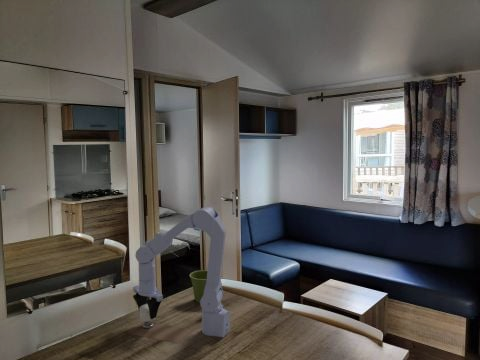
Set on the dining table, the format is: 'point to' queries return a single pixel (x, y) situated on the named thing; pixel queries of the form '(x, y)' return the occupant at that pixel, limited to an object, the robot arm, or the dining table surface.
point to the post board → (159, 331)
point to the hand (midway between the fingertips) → (148, 315)
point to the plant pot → (198, 283)
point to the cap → (145, 313)
